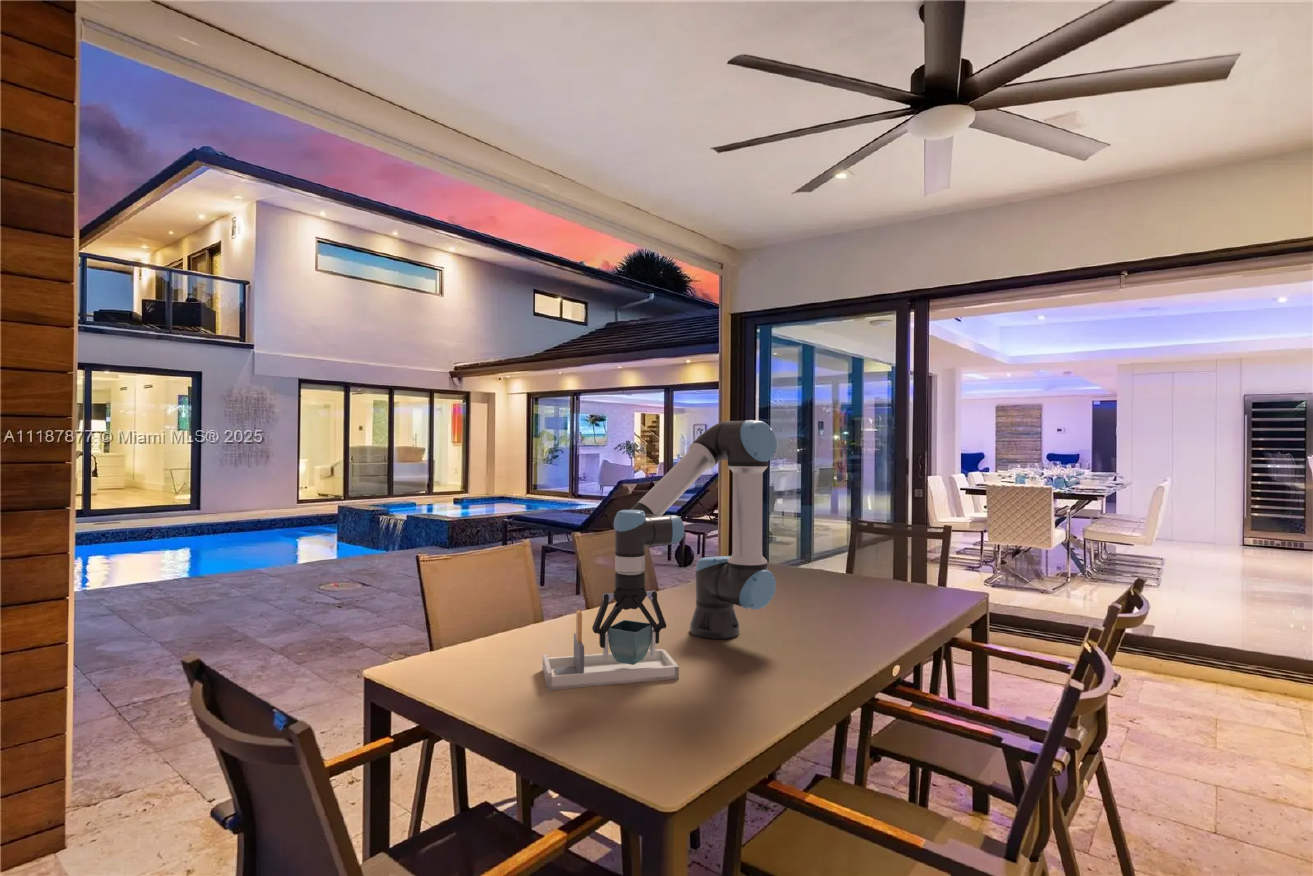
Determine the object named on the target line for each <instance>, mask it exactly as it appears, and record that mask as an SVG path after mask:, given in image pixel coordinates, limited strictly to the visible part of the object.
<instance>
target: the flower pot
mask: <svg viewBox="0 0 1313 876" xmlns="http://www.w3.org/2000/svg"><path fill="white" fill-rule="evenodd" d="M652 629H653V627H652V625H651V624H650V623H649V622H643V621H637V620H636V621H634V620H629V619H622V620H620V621H618V622H617V623H614V624H612V625H611V626H610V628H609V629H608V631H607V634H608V648H609V649H610V650H609V651H610V653H612V655H613V657H614V658H615V660H616V661H617V662H620V663H626V664H631V665H635V664H636V663H638V662H639V661H641V660H643V659H644V657H645V655H646V654H647V652H648V650H650V643H651V633H652Z"/></svg>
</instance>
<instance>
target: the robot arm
mask: <svg viewBox="0 0 1313 876" xmlns="http://www.w3.org/2000/svg"><path fill="white" fill-rule="evenodd" d="M777 445H778V444H777V438H776V435H775V432H774V430H773V429H772V428H771V426H770V425H769V424H768V423H766V422H765V421H762V420H753V419H750V420H749V419H748V420H726V421H725V420H724V421H721V422H718V423H716V424H714V425H713V426H711V427H709V428H708V429H707V430H705V431H704V432H703V433H701V434H700V435H699V436H698V437H697V438H696V439H695V440H694V441H693V442H691V444H690V445H689V447H688V450H689V451H688V452H687V453H686V454H685V455H684V456H682V457H681V459H680V460H678V462H677V463H676V464H675V465H674V466H672V468H670V470H668V472H666V474H665V475H663V477H661V478H660V479H659V481H657V482H656V483H655V484H654V486H652V487H651V488H650V490H648V492H647V493H645V494H644V496H642V498H640V499H639V500H638V502H636V504H634V505H633V506H632V507H631V508H630V509H621V510H619V511H617V512H616V515H615V516H614V520H613V528H614V537H615V538H614V539H615V540H614V542H615V544H614V545H615V547H614V551H615V555H614V558H615V560H614V561H615V563H614V565H615V566H614V570H615V571H616V572H615V573H614V591H613V592H611V593H608V592H606V591H605V592H602V594H601V603H600V606H599V609H598V611H597V614H596V617H595V619H594V622H593V625H592V627H591V629H592V632H593V633H594V634H598V635H599V636H598V637H599V641H598V642H599V643H598V644H599V646H600V648H601V649H603V651H602V652H603V653H602V654H603V659H604V661H605V662H608V653H609V641H608V634H607V631H608V629H609V628H610V626H612V625H613V623H614V621H615V620H616V619H617V617H618V615H619V614H621V612H622V611H623V610H624V611H626V610H627V611H628V610H637V609H639V610H640V611H641V613H642V614H643V615H644V617H645V618H646V620H647V621H648V623H650V624H651V625H652V633H651V643H650V646H649V650H650V656H651V657H652V658H655V649H656V644H658V645H659V643H660V632H661V630H663V629H666V628H667V623H666V621H665V617H664V615H663V613H662V610H661V607H660V604H659V602H658V593H657V591H655V589H651V590H648V591H647V590H646V589H645V587H646V586H645V585H646V583H645V581H646V580H645V579H646V577H645V576H646V574H645V572H644V571H645V569H646V559H645V557H646V547H653V546H662V545H663V546H664V545H672V544H677V543H679V542H681V541H682V539H683V538H684V535H685V524H684V522H683V519H682V518H681V517H680V516H678V515H676V514H672V515H671V514H666V515H664V514H665V513H666V512H667V510H669V509H670V508H671V507H672V506H673V504H674V503H676V501H677V500H678V499H679V498H680V497H681V496H682V495H684V493H685V492H686V491H687V490H688V489H689V488H690V487H691V486H692V485H693V484H694V483H695V482H696V481H697V480H698V479H699V478H700V477H701V475H703V474H704V473H705V472H706V471H707V469H714V467H715V466H716V465H717V464H718V463H720V462H723V461H726V460H727V468H729V470H730V471H731V473H732V553H731V555H719V556H715V555H714V556H707V557H700V558H699V559H698V560H697V561H696V565H695V566H696V568H695V608H694V612H693V615H692V618H691V621H690V625H689V626H690V627H689V632H690V633H691V635H693V636H695V637H698V638H701V639H710V640H711V639H712V640H725V639H731V638H735V637H737V636H738V635H740V630H741V629H740V623H739V620H738V616H737V613H736V610H735V606H738V607H742V608H743V609H746V610H747V609H749V610H756V611H757V610H761V609H763V608H765V607H767V606H768V605H769V603H770V601H772V599H774V595H775V593H776V589H777V581H776V577H775V576H774V574H773V573H772V572H771V571H770V570H768V560H767V559H766V558H765V556H763V483H764V482H763V480H764V479H763V473H764V472H765V471H766V470H767V468H768V467H769V460H771V459H772V458H773V457H774V456H775V455H774V454H776V452H777ZM646 598H648V600H650V602H651V604H652V607H653V610H654V613H655V615H656V618H657V621H658V623H657V622H656V621H655V620H654V617H653V616H652V615H651V614H650V612H649V611H648V609H647V607H646V606H645V604H643V602H644V600H645V599H646ZM612 599H614V600H615V602H616V603H615V604H614V605H613V608H612V609H611V611H610V613H609V614H608V615H607V617H606V619H605V620H604V618H605V615H606V612H607V609H608V606H609V603H611V602H612ZM603 620H604V622H603Z"/></svg>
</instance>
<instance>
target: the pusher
mask: <svg viewBox="0 0 1313 876" xmlns="http://www.w3.org/2000/svg"><path fill="white" fill-rule="evenodd" d="M575 616H576V617H575V618H576V619H575V621H576V622H575V623H576V624H575V626H576V627H575V633H573V656H574V666H568V667H555V672H556V675H566V674H578V673H584V655H585V646H584V643H583V641H582V640H583V612H582V610H581V609H580V610H579V609H576V615H575Z"/></svg>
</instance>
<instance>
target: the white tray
mask: <svg viewBox="0 0 1313 876" xmlns="http://www.w3.org/2000/svg"><path fill="white" fill-rule="evenodd" d="M568 666H574V655H567V656H555V657H548V654H547V653H542V673H543V677H544V682H545V685H546V690H547V691H556V690H557V691H558V690H566V689H577V688H589V687H599V686H601V687H602V686H603V687H604V686H611V685H614V686H615V685H622V684H635V683H647V682H657V681H667V680H679V678H680V666H679V665H678V663H677V662H676V661H675V660H674V659H673V657H671V655H670V654H669V653H668V652H667V651H666V649H665V648H659V649H658V648H655V658H652V657H651V656H650V649H648V652H647V654H646V655H645V657H644V659H643V660H641V661H639V662H638V663H636V664H635V665H631V664H626V663H620V662H617V661H616V660H615V658H614V657H613V655H612V653H611V652H608V662H605V661H604V659H603V653H593V654H592V653H590V654H584V673H578V674H566V675H556V672H555V667H568Z"/></svg>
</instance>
